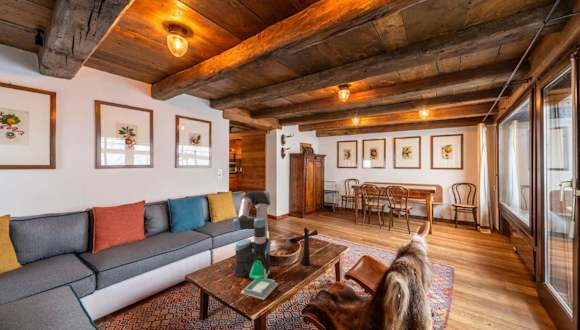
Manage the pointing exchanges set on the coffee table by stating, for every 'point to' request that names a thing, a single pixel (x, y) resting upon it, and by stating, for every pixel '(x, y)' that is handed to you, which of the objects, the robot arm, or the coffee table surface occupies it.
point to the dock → (260, 288)
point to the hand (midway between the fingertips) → (259, 276)
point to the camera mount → (257, 271)
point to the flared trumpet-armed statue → (305, 245)
